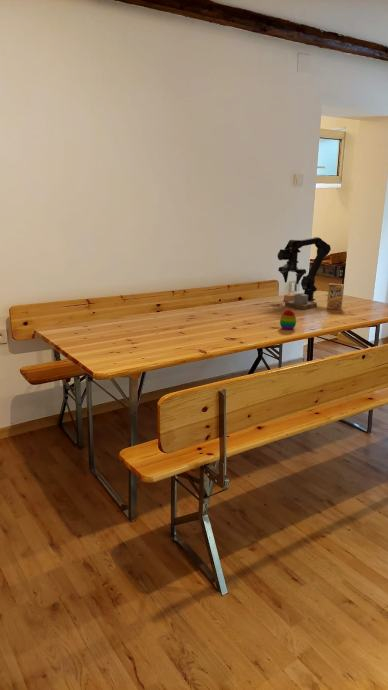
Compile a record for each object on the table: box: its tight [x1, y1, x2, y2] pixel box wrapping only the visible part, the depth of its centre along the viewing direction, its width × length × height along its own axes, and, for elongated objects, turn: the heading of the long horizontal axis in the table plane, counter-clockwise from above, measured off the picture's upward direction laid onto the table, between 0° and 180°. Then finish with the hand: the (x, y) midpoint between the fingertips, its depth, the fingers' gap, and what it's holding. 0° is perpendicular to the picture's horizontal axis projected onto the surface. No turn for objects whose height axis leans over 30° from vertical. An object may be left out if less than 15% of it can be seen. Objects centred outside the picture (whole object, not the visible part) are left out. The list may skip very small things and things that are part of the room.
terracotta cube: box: [283, 293, 296, 302], centre depth 338 cm, size 5×5×4 cm
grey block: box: [294, 293, 309, 304], centre depth 319 cm, size 6×6×5 cm
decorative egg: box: [279, 309, 297, 331], centre depth 264 cm, size 8×8×10 cm
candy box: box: [326, 283, 345, 311], centre depth 315 cm, size 9×4×15 cm, turn 70°
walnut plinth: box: [284, 301, 318, 311], centre depth 320 cm, size 14×14×2 cm
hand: (291, 283), depth 334 cm, fingers open, 9 cm apart
